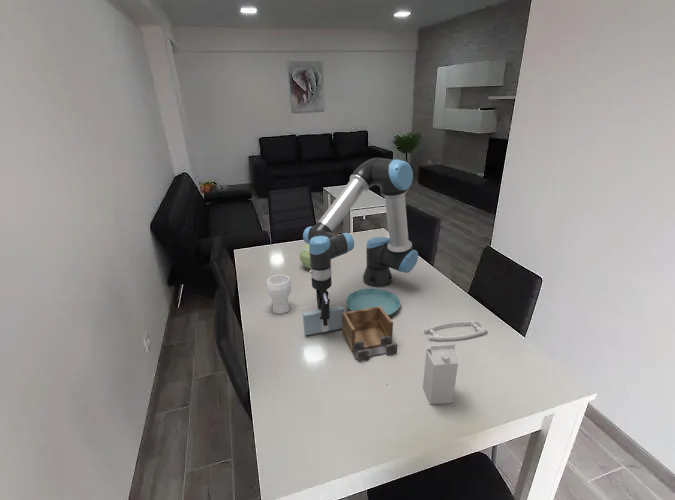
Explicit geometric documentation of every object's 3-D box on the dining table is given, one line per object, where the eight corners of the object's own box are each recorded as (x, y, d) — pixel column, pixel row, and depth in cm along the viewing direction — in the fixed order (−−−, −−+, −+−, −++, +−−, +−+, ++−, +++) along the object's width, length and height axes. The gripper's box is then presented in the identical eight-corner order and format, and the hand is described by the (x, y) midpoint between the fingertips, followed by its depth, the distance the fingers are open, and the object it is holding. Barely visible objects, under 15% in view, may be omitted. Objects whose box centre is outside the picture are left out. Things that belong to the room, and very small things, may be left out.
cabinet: (379, 327, 144) (380, 306, 140) (398, 353, 129) (399, 330, 125) (342, 334, 140) (342, 312, 136) (356, 362, 125) (356, 338, 121)
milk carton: (422, 387, 113) (427, 338, 106) (444, 386, 113) (450, 336, 106) (429, 404, 106) (435, 353, 99) (452, 403, 107) (459, 352, 100)
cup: (288, 316, 153) (286, 286, 147) (265, 314, 155) (262, 284, 149) (296, 304, 162) (293, 275, 157) (274, 302, 164) (271, 273, 159)
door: (342, 324, 145) (341, 305, 141) (344, 327, 142) (343, 308, 139) (304, 331, 141) (302, 312, 137) (305, 335, 138) (303, 316, 135)
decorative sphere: (332, 265, 201) (331, 241, 196) (317, 275, 190) (316, 249, 184) (311, 260, 209) (310, 236, 203) (295, 269, 197) (293, 244, 192)
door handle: (420, 330, 142) (477, 323, 146) (431, 345, 133) (490, 337, 137) (421, 325, 141) (477, 317, 145) (431, 340, 132) (491, 331, 136)
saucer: (338, 317, 152) (338, 310, 151) (355, 291, 173) (355, 285, 172) (394, 327, 144) (394, 320, 143) (404, 298, 165) (404, 292, 164)
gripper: (307, 269, 138) (311, 320, 147) (316, 287, 124) (319, 342, 133) (325, 266, 140) (328, 316, 149) (336, 284, 126) (338, 338, 135)
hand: (324, 328), depth 141 cm, fingers closed on door, 2 cm apart
